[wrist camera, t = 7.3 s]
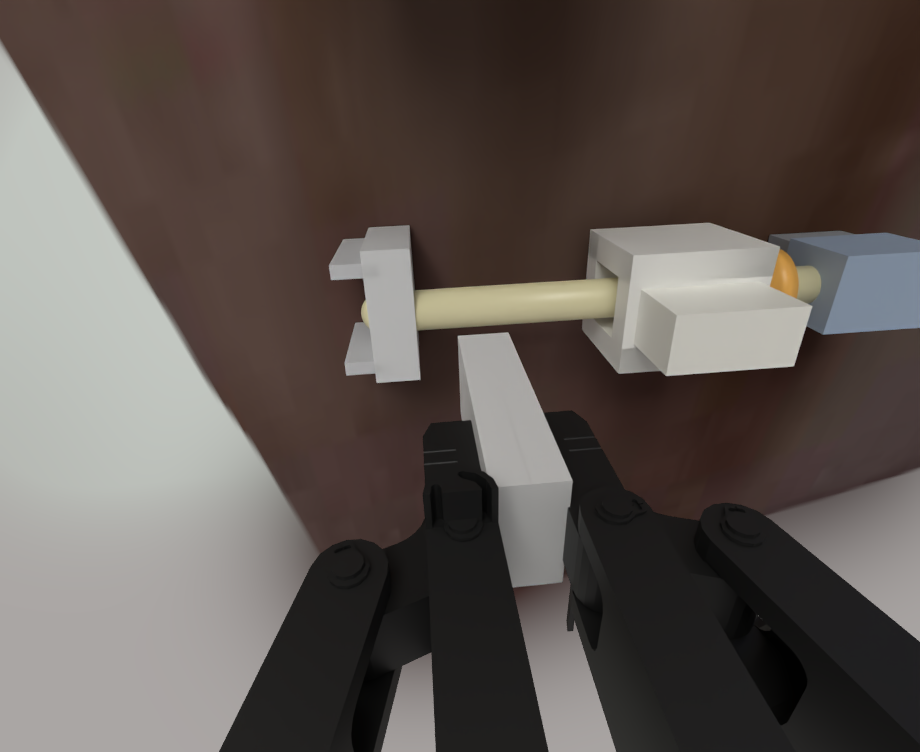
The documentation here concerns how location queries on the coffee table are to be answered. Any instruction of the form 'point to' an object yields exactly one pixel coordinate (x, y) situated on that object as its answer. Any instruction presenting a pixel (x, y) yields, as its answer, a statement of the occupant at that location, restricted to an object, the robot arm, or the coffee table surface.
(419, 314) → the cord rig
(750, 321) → the white stepped block
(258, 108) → the coffee table surface
